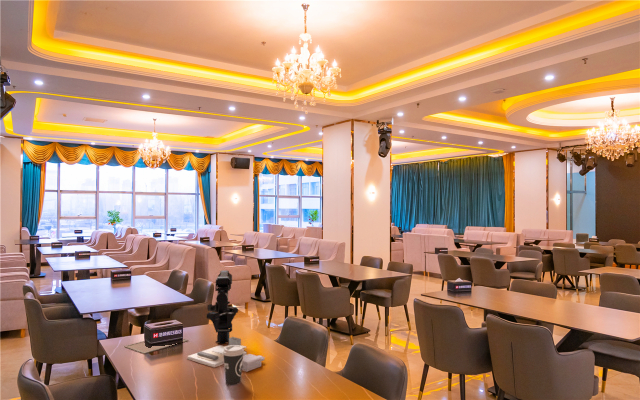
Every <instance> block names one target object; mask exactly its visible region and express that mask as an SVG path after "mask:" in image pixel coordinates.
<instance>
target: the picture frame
mask: <svg viewBox="0 0 640 400" xmlns="http://www.w3.org/2000/svg"><path fill="white" fill-rule="evenodd" d="M144 341H145V340H143V341H138V342H135V343H131V344H128V345H124V349H125V348H126V349H129V350H131V351H134V352H137V353H140V354H142V355H146V354H150V353H153V352H156V351H159V350H163V349H166V348H167V349H168V348H170V347H173V346H172V345H174V346H176V345H175V344H172V345H165V346H152V347H151V348H148V347H146V346H145V343H144ZM183 342H184V343H186V342H189V339H186V338H183ZM176 344H177V343H176ZM177 345H178V344H177ZM169 346H170V347H169Z"/></svg>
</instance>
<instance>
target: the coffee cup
mask: <svg viewBox="0 0 640 400" xmlns="http://www.w3.org/2000/svg"><path fill="white" fill-rule="evenodd" d="M226 346H227V345H226ZM242 346H243V345H242ZM242 346H240V345H230V346H227V347H225V348H224V350H223V353H222V354H223V355H224V364H223V365H224V377H225V384H226V385H229V386H234V385H238V384H240V383H241V381H242V380H241V379H242V371H243V370H242V361H243V354H244V351H245V348H244V349H243V347H242Z"/></svg>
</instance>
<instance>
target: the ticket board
mask: <svg viewBox="0 0 640 400" xmlns="http://www.w3.org/2000/svg"><path fill="white" fill-rule="evenodd" d="M225 346H226V345H223V344H219V345H216V346H214V347H210V348H207V349H204V350H201V351H198V352H196V353H192V354H189V355H187V360H188V361H193V362H196V363H199V364H201V365H205V366H208V367H211V368H217V367H219V366H222V365H224V355H223V354H222V353H223V350H224V348H223V347H225ZM245 355H248V354H247V351H245V350H244V354H243V356H245Z"/></svg>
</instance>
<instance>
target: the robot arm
mask: <svg viewBox="0 0 640 400" xmlns="http://www.w3.org/2000/svg"><path fill="white" fill-rule="evenodd" d="M232 284H233V274H231V273H230V270H224V269H223V270H220V272H219V274H217V278H216V279H215V286H214V287H215V288H214V289H215V290H214V291H215V292H217V295H216V297H215V299H216V302H215V303H214V304H212V303H211V304H207V307H206V308H207V311H208V312H207V313H206V319H208V320H209V321H211V322H212V324H213V327H214V330H215V333H217V335H216V341H215V343H217V344H219V345H225V344H229V338H230V333H231V332H232V331H233V323H232V322H233V320H234V318H235V316H236V315H237V313H239V309H238V307H236V306H232V305H231V306H229V304H230V303H231V301H229V291H230V290H231V289H232Z"/></svg>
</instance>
